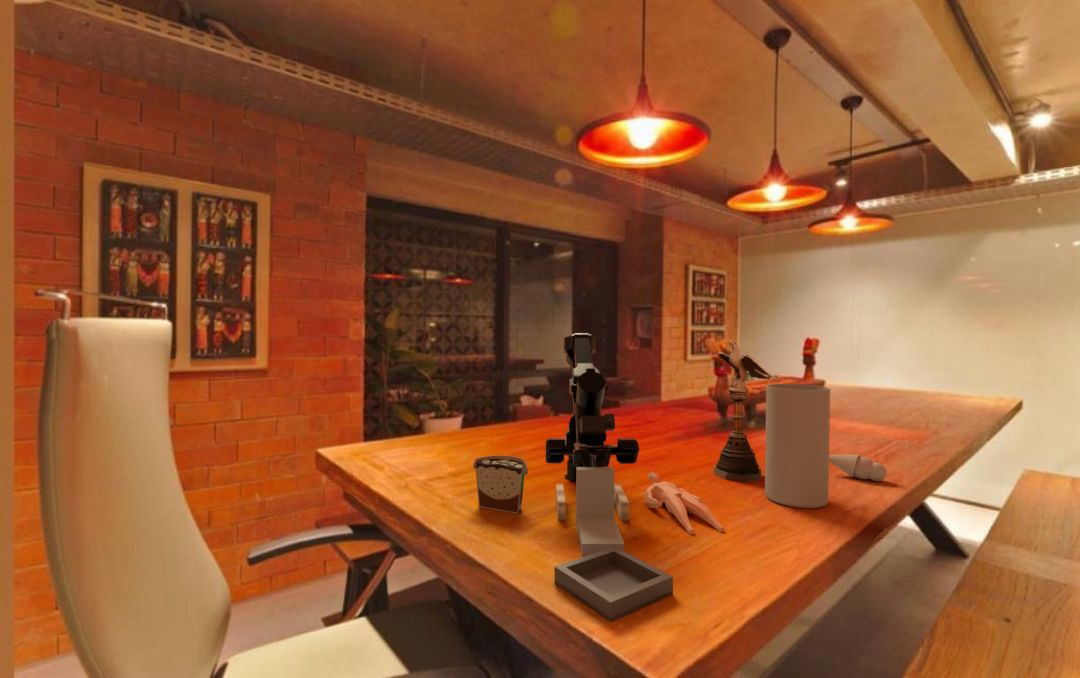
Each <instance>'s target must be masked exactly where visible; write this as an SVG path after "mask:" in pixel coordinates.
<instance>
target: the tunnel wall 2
mask: <svg viewBox="0 0 1080 678" xmlns="http://www.w3.org/2000/svg"><path fill="white" fill-rule="evenodd" d="M614 507H615V509H616V511H617V513H618V516H619V518H620V520H621V521H622V522H623V521H625V522H626V521H628V522H629V521H630V501H629V500H628V497H627V496H626V493H625V491H624V489H623V488H622V486H621V484H620V483H614Z"/></svg>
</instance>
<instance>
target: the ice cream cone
mask: <svg viewBox="0 0 1080 678" xmlns="http://www.w3.org/2000/svg"><path fill="white" fill-rule="evenodd" d="M829 463H830V464H832V465H833V466H835V467H836V468H838V469H840V470H842V472H844V473H846V474H847V475H848V476H850V477H851V478H855V477H856V478H857V479H860V480H871V481H874V482H882V481H883V480H885V479H886V477H887V476H888V475H887V474H888V472H887V471H888V470H887V468H886V467H885V466H884V465H883V464H882V463H880V462H876V461H875V462H874V461H873V460H872V459H870V458H869V457H866V456H860V454H858V453H857V454H856V453H855V454H829Z"/></svg>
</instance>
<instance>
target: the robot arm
mask: <svg viewBox="0 0 1080 678" xmlns="http://www.w3.org/2000/svg"><path fill="white" fill-rule="evenodd" d="M595 352H596V337H594V336H592V334H591V333H590V334H589V333H588V332H585V333H584V332H577V333H576V332H575V333H572V334H571V335H570V336H565V337H563V353H564V354H565V361H566V363H567V364H568V365H569V367H570V368H571V369H572V370H571V374H572V376H571V378H569V384H568V385H569V394H570V395H572V403H573V404H572V405H573V409H572V410H573V415H572V416H571V417H570V418H569V422H568V425H567V426H568V427H567V430H565V436H564V437H563V438H562V437H559V438H558V437H556V438H555V437H553V438H551V437H550V438H549V437H548V438H547V439H546V441H545V463H547V464H562V463H563V462H565V456H566V457H568V460H567V461H566V474H564V478H566V479H569V480H572V481H574V482H576V467H610V461H611V456H615V461H616V462H617V463H619V464H620V465H621V464H622V465H626V464H629V465H631V464H636V463H637V460H638V456H639V454H640V453H639V451H640V444H639V441H637V439H636V438H617V443H616V444H605V442H607V431H608V432H612V431H613V432H614V430H615V429H616V419H615V414H614V413H604V415H603V414H602V406H603V402H604V396H605V394H606V392H607V391H609V384H607V383H606V379H605V377H604V376H603V375H602V374H601V372H600V370H599V369H598V368H597V367H595V366H594V363H593V362H594V361H593V354H595Z"/></svg>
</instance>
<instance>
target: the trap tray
mask: <svg viewBox="0 0 1080 678" xmlns="http://www.w3.org/2000/svg"><path fill="white" fill-rule="evenodd" d="M554 584H555V585H556V586H558V587H559V588H561V589H562V590H564V591H565V592H566V593H568V594H570V595H571V596H572V597H574V598H575V599H577V600H578V601H580V602H581V603H582V604H584V605H585V606H587V607H588V608H590V609H591V610H593V611H594V612H595V613H597V614H598V615H600V616H601V617H603V618H604V619H605V620H607V621H609V622H613V621H614V622H615V621H616V620H618V619H620V618H623V617H624V616H626V615H629V614H631V613H634V612H636V611H637V610H640V609H642V608H645V607H647V606H649V605H651V604H653V603H656V602H658V601H661V600H662V599H664V598H665V599H666V598H668V597H671V596H672V595H673V594H674V576H673V575H671V574H668V573H667V572H665V571H663V570H661V569H659V568H657V567H655V566H653V565H651V564H649V563H648V562H645V561H643V560H641V559H639V558H638V557H636V556H634V555H632V554H630V553H628V552H626V551H625V550H624V551H622V550H620V549H618V548H616V547H611V548H608V549H605V550H602V551H599V552H596V553H593V554H590V555H587V556H581V557H579V558H576V559H573V560H569V561H567V562H564V563H560V564H557V565H555V566H554Z"/></svg>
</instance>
